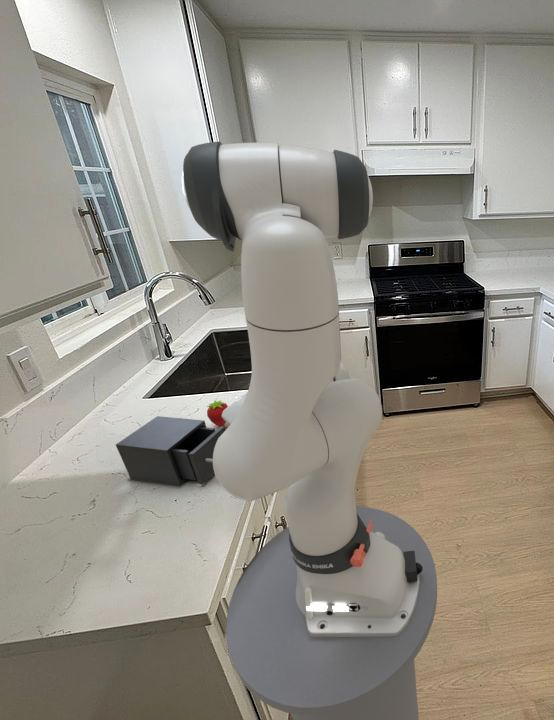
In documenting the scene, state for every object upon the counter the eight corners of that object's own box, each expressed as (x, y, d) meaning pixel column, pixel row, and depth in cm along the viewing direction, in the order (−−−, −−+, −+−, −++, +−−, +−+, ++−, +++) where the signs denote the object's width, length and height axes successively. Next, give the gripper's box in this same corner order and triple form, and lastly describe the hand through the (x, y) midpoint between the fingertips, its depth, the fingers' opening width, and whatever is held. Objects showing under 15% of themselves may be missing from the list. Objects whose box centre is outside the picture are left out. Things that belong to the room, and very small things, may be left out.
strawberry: (233, 418, 121) (225, 390, 117) (232, 431, 114) (224, 401, 110) (213, 422, 119) (204, 394, 115) (210, 436, 113) (201, 406, 108)
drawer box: (215, 453, 105) (204, 420, 101) (180, 485, 94) (166, 450, 89) (169, 448, 108) (157, 416, 104) (130, 479, 97) (115, 444, 92)
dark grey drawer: (246, 455, 102) (239, 427, 98) (218, 486, 92) (208, 456, 88) (189, 449, 106) (179, 422, 102) (155, 478, 96) (143, 449, 92)
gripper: (251, 380, 83) (194, 426, 77) (319, 440, 78) (265, 495, 72) (258, 392, 89) (205, 436, 82) (322, 450, 84) (272, 501, 77)
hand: (234, 464), depth 77 cm, fingers closed
